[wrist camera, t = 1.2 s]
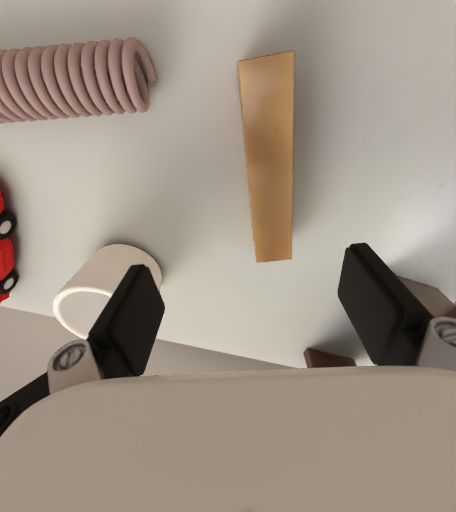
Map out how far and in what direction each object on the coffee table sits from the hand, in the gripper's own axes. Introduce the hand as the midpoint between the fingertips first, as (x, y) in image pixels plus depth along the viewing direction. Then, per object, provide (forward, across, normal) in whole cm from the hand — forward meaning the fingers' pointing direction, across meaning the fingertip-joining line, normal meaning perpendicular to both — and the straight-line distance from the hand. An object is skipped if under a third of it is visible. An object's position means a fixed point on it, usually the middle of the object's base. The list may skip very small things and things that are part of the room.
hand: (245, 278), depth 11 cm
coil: (+17, +15, -10) cm, 25 cm away
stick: (+17, -3, 0) cm, 17 cm away
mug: (+17, +17, +12) cm, 27 cm away
